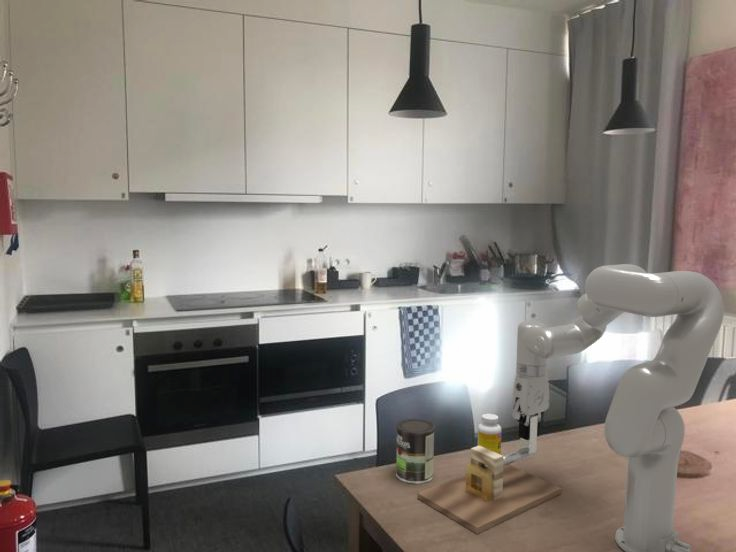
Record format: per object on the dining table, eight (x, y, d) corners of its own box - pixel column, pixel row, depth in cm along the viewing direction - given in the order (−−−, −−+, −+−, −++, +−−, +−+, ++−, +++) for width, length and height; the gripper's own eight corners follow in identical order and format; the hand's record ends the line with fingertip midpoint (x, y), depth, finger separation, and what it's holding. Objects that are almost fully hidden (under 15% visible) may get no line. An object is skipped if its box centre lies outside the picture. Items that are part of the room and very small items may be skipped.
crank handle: (527, 452, 159) (528, 412, 157) (536, 456, 156) (537, 415, 155) (481, 470, 148) (482, 427, 146) (490, 474, 145) (491, 430, 144)
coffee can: (408, 487, 153) (409, 435, 151) (389, 471, 162) (389, 422, 160) (441, 479, 158) (442, 428, 156) (420, 464, 167) (421, 416, 165)
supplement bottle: (500, 465, 166) (502, 421, 165) (476, 463, 168) (478, 419, 166) (500, 455, 173) (501, 413, 171) (477, 453, 174) (478, 411, 173)
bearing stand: (561, 493, 150) (563, 448, 148) (477, 534, 131) (478, 482, 130) (499, 466, 166) (501, 425, 164) (417, 498, 147) (418, 452, 146)
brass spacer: (492, 499, 144) (493, 472, 143) (486, 502, 142) (487, 474, 142) (471, 488, 149) (471, 462, 148) (465, 490, 148) (466, 464, 147)
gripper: (522, 378, 146) (520, 449, 148) (562, 367, 156) (559, 434, 158) (499, 371, 152) (497, 439, 154) (538, 361, 162) (536, 425, 164)
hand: (528, 436), depth 156 cm, fingers closed on crank handle, 3 cm apart
